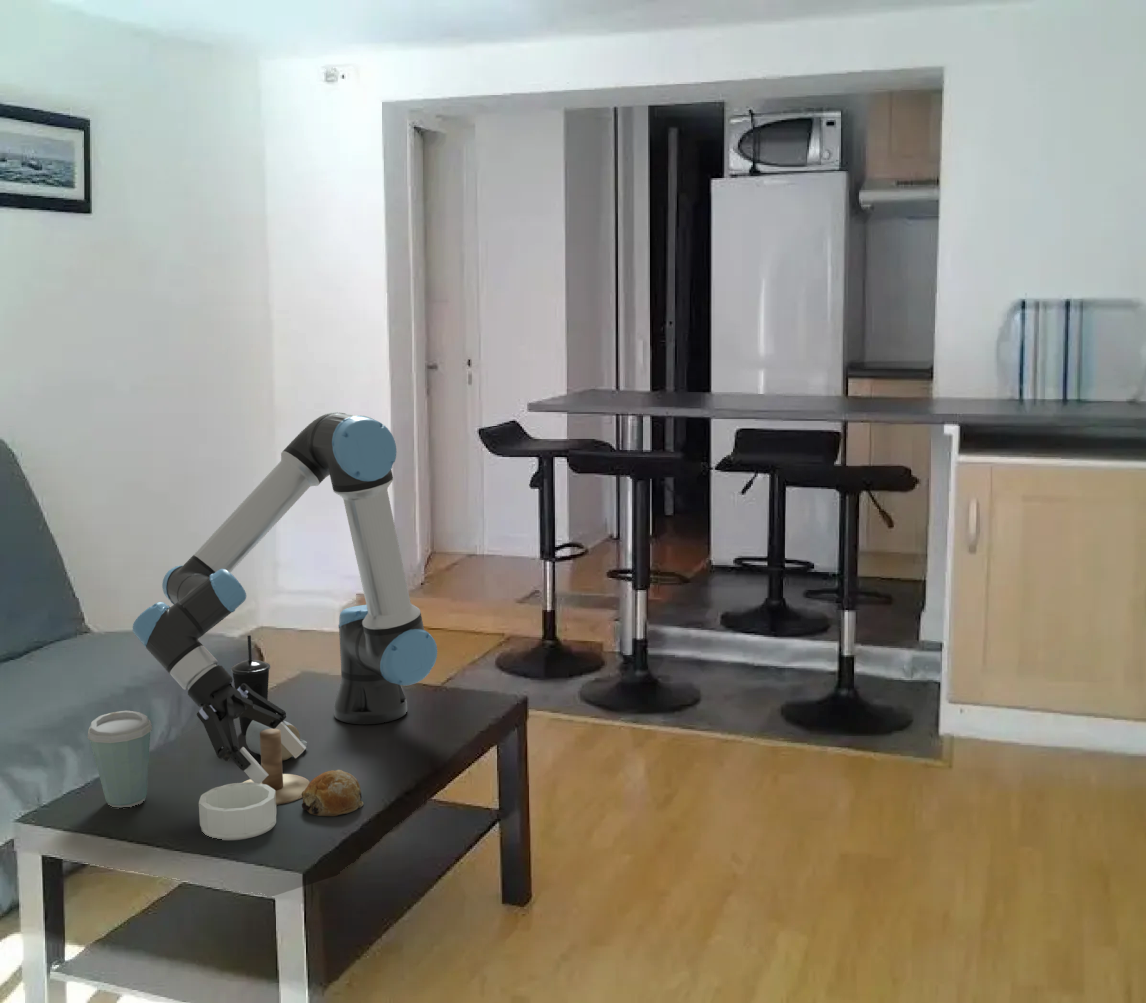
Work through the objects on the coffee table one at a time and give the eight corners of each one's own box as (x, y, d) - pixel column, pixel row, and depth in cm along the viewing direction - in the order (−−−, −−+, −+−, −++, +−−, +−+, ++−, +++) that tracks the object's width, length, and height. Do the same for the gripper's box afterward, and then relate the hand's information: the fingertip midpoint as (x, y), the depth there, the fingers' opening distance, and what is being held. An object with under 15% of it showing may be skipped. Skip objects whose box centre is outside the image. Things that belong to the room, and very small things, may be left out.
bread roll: (356, 835, 215) (375, 792, 214) (299, 818, 211) (318, 774, 211) (349, 813, 224) (367, 772, 224) (294, 795, 221) (312, 754, 220)
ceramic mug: (273, 767, 236) (271, 727, 235) (245, 757, 241) (244, 718, 240) (317, 752, 244) (316, 713, 243) (289, 743, 249) (288, 705, 248)
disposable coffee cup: (164, 805, 218) (159, 722, 216) (99, 819, 213) (93, 733, 210) (148, 786, 227) (143, 705, 225) (85, 798, 222) (80, 716, 219)
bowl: (256, 804, 218) (255, 777, 218) (288, 826, 209) (287, 798, 208) (189, 823, 211) (187, 794, 210) (219, 846, 202) (218, 817, 201)
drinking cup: (279, 727, 258) (275, 631, 255) (264, 739, 251) (259, 641, 248) (244, 725, 260) (239, 630, 256) (227, 737, 252) (222, 640, 249)
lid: (289, 772, 234) (287, 715, 232) (323, 793, 224) (321, 733, 222) (222, 790, 226) (219, 730, 224) (255, 812, 216) (251, 750, 214)
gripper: (227, 671, 238) (303, 755, 236) (148, 712, 214) (232, 806, 213) (251, 645, 236) (328, 730, 234) (174, 684, 212) (259, 779, 210)
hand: (282, 766), depth 223 cm, fingers open, 13 cm apart
